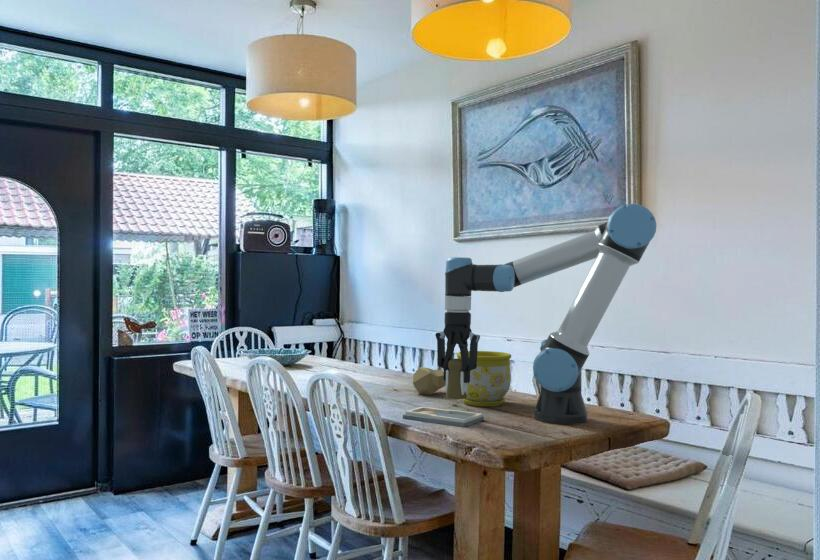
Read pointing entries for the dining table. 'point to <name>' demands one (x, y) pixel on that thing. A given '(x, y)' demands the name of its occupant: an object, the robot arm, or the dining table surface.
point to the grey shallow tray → (443, 416)
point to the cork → (455, 380)
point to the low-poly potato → (428, 380)
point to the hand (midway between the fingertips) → (456, 393)
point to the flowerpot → (488, 379)
